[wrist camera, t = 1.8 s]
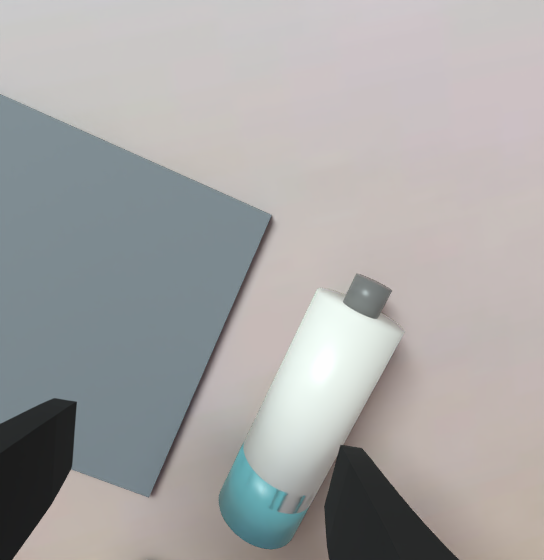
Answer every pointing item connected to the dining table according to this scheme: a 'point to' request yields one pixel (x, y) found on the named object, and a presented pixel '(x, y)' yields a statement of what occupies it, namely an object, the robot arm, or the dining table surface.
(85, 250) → the mat
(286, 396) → the bottle
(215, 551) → the dining table surface
